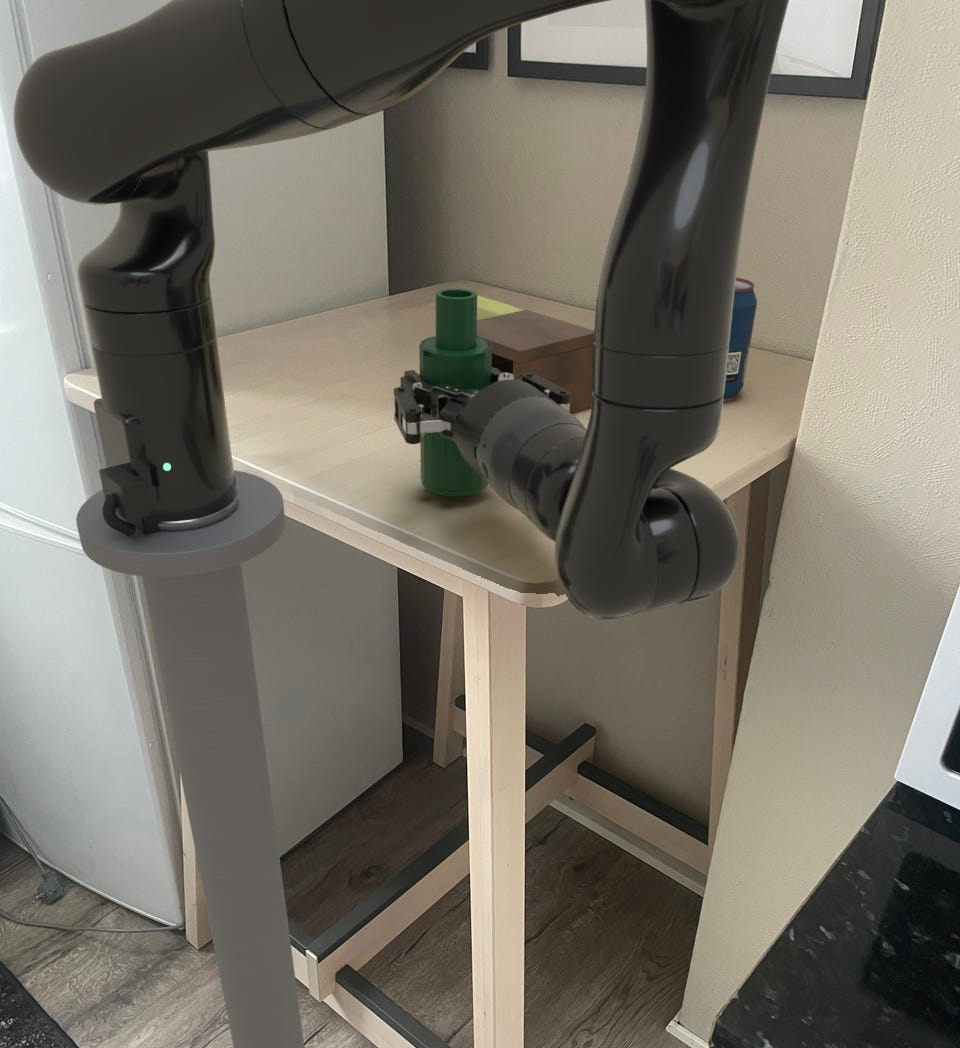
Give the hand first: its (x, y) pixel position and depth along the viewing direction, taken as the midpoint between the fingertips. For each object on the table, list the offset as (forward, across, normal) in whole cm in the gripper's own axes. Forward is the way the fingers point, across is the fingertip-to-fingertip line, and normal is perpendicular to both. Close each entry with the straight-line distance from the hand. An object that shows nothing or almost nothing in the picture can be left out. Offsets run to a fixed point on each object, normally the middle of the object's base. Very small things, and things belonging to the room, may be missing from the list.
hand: (444, 378), depth 83 cm
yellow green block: (+39, -24, +10) cm, 46 cm away
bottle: (-2, 0, +8) cm, 9 cm away
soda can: (+12, -36, +10) cm, 40 cm away
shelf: (+16, -15, +10) cm, 24 cm away
